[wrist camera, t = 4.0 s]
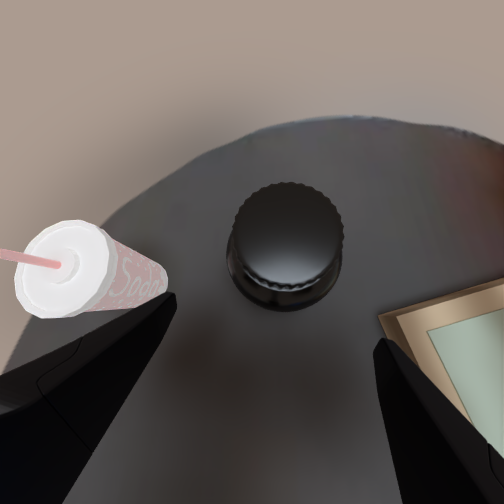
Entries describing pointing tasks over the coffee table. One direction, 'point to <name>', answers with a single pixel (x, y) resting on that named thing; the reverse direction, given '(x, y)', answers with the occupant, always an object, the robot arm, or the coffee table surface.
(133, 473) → the coffee table surface
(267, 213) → the supplement bottle
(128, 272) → the beverage cup
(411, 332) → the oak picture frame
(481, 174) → the coffee table surface
